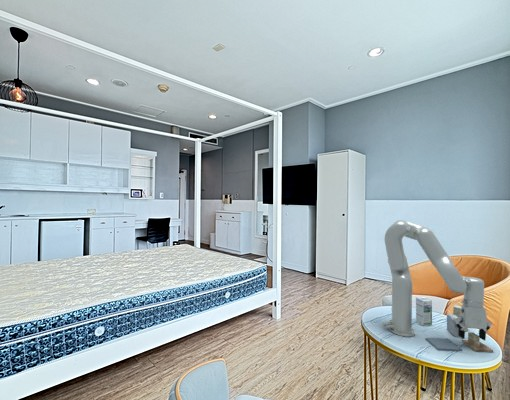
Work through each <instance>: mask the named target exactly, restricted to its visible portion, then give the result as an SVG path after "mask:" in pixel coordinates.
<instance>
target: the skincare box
mask: <svg viewBox="0 0 510 400" xmlns="http://www.w3.org/2000/svg"><path fill="white" fill-rule="evenodd" d="M461 306H462V305H461ZM461 306H460V305H458V304H454V305H453V311H452V312H453V313H452V315H456V316H457V317H460V311H461ZM468 329H469V328H467V327H466V328H465V329H464V331H465V333H466V332H467V331H468ZM467 333H468V332H467Z"/></svg>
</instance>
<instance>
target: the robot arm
mask: <svg viewBox="0 0 510 400" xmlns="http://www.w3.org/2000/svg"><path fill="white" fill-rule="evenodd" d="M404 237H405V238H409V239H411V240H414V241H416V242H418V244H419V246H420V247H421V249H422V251H423V252H424V254H425V255H426V257H427V259H428V260H429V262H430V263H431V265H432V266H433V267H434V268H435V269H436V270H437V272H438V273H439V275H440V277H441V278H442V280H443V281H444V283H445V284H446V286H447V287H448V289H449V290H450V291H451V292H452V293H455V294H460V295H461V294H463V299H462V300H460V301H461V303H462V304H461V311H460V317H458V318H456V319H454V320H453V321H454V323H455V325H456V326H457V328H459V329H458V335H459V337H458V338H461V340H466V339H465V338H466V337H465V336H466V332H465V331H464V329H465V328H466V327H467V328H468V329H475V330H477V329H478V336H480V339H481V340H483V341H486V340H487V339H486V337H487V333H488V330H490V329H491V326H492V325H493V323H492V322H491V321H488V317H487V316H488V315H487V310H486V308H485V307H484V303H485V301H484V300H485V297H484V296H485V282H484V280H483V279H481V278H478V277H473V276H464V275H461V273H460V272H459V270H458V269H457V267H456V266H455V264H454V263H453V261H452V259H451V258H450V256H449V254H448V253H447V252H446V250H445V248H444V247H443V246H442V244H441V242H440V241H439V239H438V237H437V236H436V235H435V234H434V232H433V231H432V230H431V229H429V228H428V227H425V226H421V225H418V224H415V223H412V222H409V221H406V220H402V219H401V220H398V219H397V220H395V222H394V223H392V224H391V225H389V227H388V228H387V229H386V232H385V234H384V244H385V245H384V246H385V252H386V255H387V263H388V266H389V269H390V273H391V319H390V320H389V321H388V322H387V321H386V322H385V321H383V322H381V324H382V326H383V327H386V328H388V330H389V331H390V332H391V333H393V334H394V335H397V336H401V337H406V338H407V337H410V338H412V337H414V336H415V335H416V331H415V330H414V329H413V326H412V325H413V322H412V321H413V319H412V318H413V280H412V276H411V272H410V267H409V263H408V259H407V258H408V257H407V256H406V253H405V251H404V246H403V245H404V244H403V239H404ZM459 321H460V324H459V323H458V322H459Z"/></svg>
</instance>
